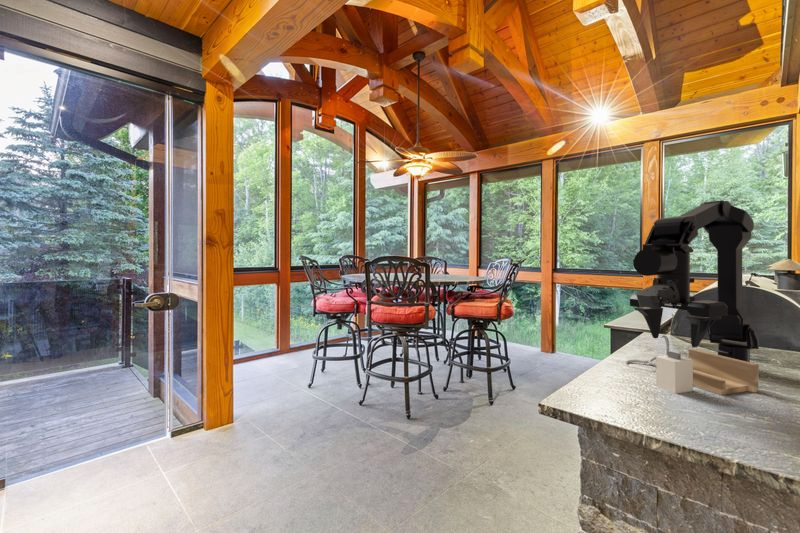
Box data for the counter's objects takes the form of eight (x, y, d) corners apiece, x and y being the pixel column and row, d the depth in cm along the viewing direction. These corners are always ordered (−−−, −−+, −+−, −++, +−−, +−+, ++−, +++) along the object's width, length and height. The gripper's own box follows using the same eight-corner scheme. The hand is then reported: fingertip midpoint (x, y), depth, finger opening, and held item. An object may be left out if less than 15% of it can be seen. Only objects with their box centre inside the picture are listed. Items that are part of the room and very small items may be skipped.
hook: (688, 358, 106) (659, 384, 95) (651, 352, 114) (620, 375, 103) (686, 334, 105) (657, 357, 94) (649, 329, 113) (618, 350, 102)
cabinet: (673, 384, 87) (673, 349, 87) (692, 390, 83) (692, 354, 82) (656, 386, 86) (656, 351, 86) (675, 393, 81) (674, 356, 81)
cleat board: (693, 372, 95) (693, 348, 94) (758, 391, 81) (758, 364, 81) (664, 376, 92) (664, 352, 92) (726, 396, 79) (726, 368, 79)
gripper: (610, 273, 91) (611, 336, 91) (686, 277, 72) (687, 356, 73) (647, 271, 93) (648, 333, 94) (729, 275, 75) (729, 351, 76)
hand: (674, 342), depth 84 cm, fingers open, 9 cm apart
